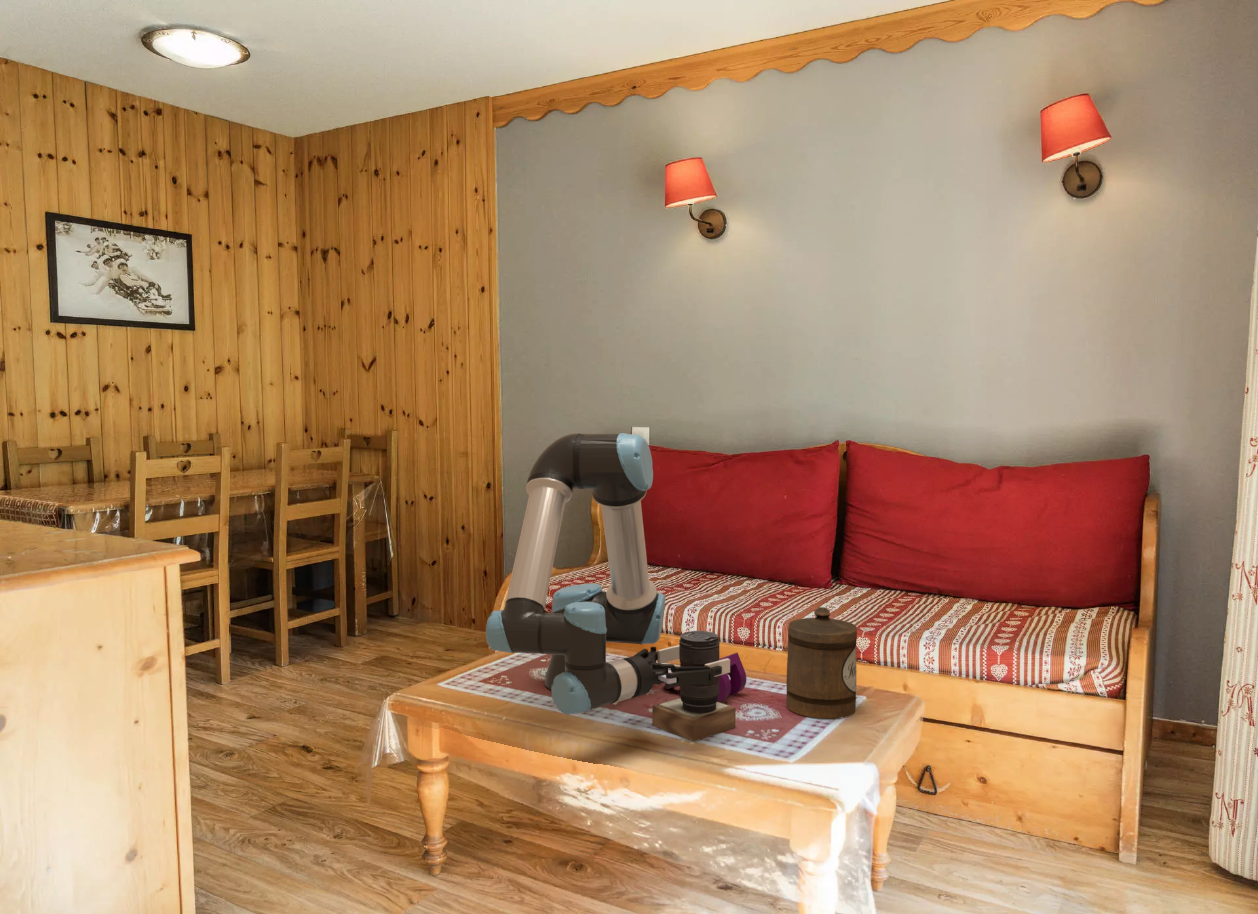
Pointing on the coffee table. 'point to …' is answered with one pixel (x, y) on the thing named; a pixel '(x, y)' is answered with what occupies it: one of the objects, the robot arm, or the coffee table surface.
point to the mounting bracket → (736, 677)
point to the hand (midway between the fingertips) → (704, 658)
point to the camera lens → (698, 652)
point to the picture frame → (692, 720)
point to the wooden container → (821, 666)
